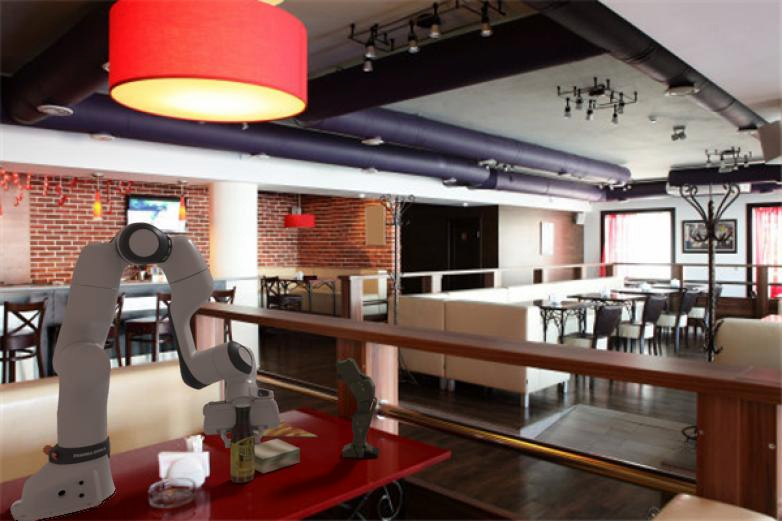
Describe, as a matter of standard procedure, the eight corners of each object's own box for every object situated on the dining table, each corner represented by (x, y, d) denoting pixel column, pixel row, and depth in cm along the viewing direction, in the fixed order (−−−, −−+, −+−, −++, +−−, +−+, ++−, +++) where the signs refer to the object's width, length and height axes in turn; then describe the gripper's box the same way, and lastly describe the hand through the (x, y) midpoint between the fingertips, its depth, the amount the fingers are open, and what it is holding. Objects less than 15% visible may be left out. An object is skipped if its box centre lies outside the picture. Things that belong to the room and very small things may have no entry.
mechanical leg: (392, 447, 175) (367, 351, 176) (389, 456, 168) (363, 356, 168) (348, 457, 177) (323, 362, 177) (344, 466, 170) (318, 367, 170)
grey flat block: (262, 473, 159) (262, 459, 159) (241, 462, 168) (240, 448, 168) (300, 462, 167) (299, 448, 167) (277, 451, 176) (277, 438, 176)
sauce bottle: (240, 486, 150) (238, 410, 150) (225, 480, 154) (223, 406, 154) (260, 478, 156) (258, 404, 155) (245, 473, 159) (243, 401, 159)
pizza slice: (275, 450, 179) (275, 443, 179) (241, 433, 195) (241, 427, 195) (317, 438, 189) (317, 432, 189) (281, 423, 206) (281, 418, 206)
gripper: (202, 396, 159) (201, 443, 149) (278, 390, 164) (281, 435, 155) (203, 408, 163) (202, 454, 154) (277, 402, 168) (280, 447, 159)
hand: (242, 445), depth 154 cm, fingers closed on sauce bottle, 6 cm apart
